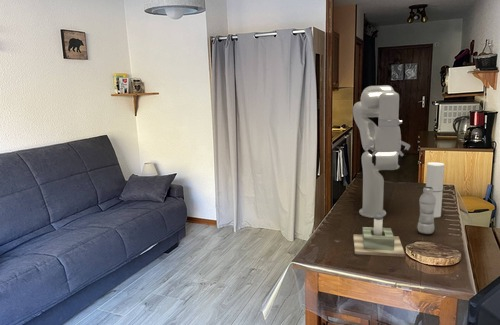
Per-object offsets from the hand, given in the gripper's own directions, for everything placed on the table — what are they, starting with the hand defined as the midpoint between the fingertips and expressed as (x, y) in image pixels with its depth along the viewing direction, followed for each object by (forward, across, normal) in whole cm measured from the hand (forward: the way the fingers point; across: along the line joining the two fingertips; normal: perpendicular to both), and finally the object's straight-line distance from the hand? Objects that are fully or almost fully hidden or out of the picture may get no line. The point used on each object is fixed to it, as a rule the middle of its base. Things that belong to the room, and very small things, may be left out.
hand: (386, 165), depth 156 cm
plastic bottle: (+31, -17, -3) cm, 35 cm away
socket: (+30, +4, +13) cm, 33 cm away
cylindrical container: (+31, -24, -25) cm, 47 cm away
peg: (+29, +4, +13) cm, 32 cm away
